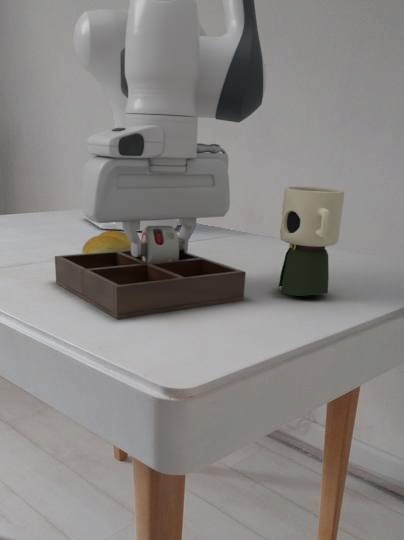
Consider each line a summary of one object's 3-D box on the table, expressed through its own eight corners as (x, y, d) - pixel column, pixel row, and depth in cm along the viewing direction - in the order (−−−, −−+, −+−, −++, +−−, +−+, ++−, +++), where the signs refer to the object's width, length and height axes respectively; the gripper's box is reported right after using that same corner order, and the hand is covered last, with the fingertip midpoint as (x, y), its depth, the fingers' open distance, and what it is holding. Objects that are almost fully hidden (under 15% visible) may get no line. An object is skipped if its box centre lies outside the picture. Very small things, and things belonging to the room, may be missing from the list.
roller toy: (170, 264, 78) (171, 222, 76) (183, 275, 73) (184, 230, 71) (139, 265, 77) (139, 222, 75) (149, 276, 72) (150, 230, 69)
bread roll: (75, 261, 85) (74, 234, 83) (99, 251, 93) (98, 226, 91) (126, 266, 83) (126, 239, 81) (147, 255, 91) (147, 230, 89)
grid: (55, 283, 72) (54, 255, 71) (169, 270, 81) (170, 246, 80) (116, 319, 59) (116, 287, 58) (243, 300, 68) (245, 271, 67)
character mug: (264, 284, 76) (273, 184, 72) (314, 284, 78) (326, 186, 73) (287, 307, 66) (299, 192, 62) (345, 306, 68) (361, 194, 63)
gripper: (214, 143, 77) (209, 244, 82) (73, 138, 66) (78, 255, 71) (243, 145, 72) (236, 252, 78) (97, 140, 61) (100, 265, 66)
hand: (159, 254), depth 74 cm, fingers closed on roller toy, 5 cm apart
